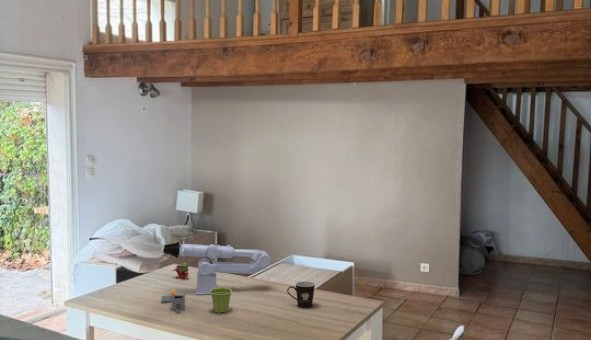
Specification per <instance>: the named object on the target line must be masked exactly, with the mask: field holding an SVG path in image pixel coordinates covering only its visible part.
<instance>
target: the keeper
mask: <svg viewBox="0 0 591 340" xmlns="http://www.w3.org/2000/svg"><path fill="white" fill-rule="evenodd" d="M174 295H176V289H171V290H170V295H163V296H161V304H169V303H170V304H172V296H174Z"/></svg>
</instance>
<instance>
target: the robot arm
mask: <svg viewBox="0 0 591 340" xmlns="http://www.w3.org/2000/svg"><path fill="white" fill-rule="evenodd" d="M162 251H163V254H165V255H170V256H172V257H174V258H176V259H178V258H179V256H180V257H193V258H195V257H196V258H197V257H198V258H200V259H199V260H198V262H197V268H198V271H197V272H196V289H195V295H198V296H199V295H211V293H210V291H211V290H212V289H216V288H218V285H217V273H223V274H245V275H246V274H248V275H253V274H257V273H258V272H260V271H262V270H267V268H268V267H269V265H270V264H271V262H272V261H271V260H272V259H271V256H270V255H269V253H268V252H267V251H265V250H260V249H249V248H248V249H246V248H244V249H242V248H241V249H240V248H239V249H237V248H236V249H235V248H234V247H233V246H232V245H230V244H227V245H226V246H225V245H220V244H217V245H215V244H213V243H211V244H192V243H185V241H184V240H183V241H182V244H180V241H177V242H174V243H169V244H168V243H167V244H164V245H163V250H162ZM233 257H241V258H249V259H252V260H251V261H250V262H248V263H247V262H230V261H216V260H214V259H217V258H218V259H232V258H233Z"/></svg>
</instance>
